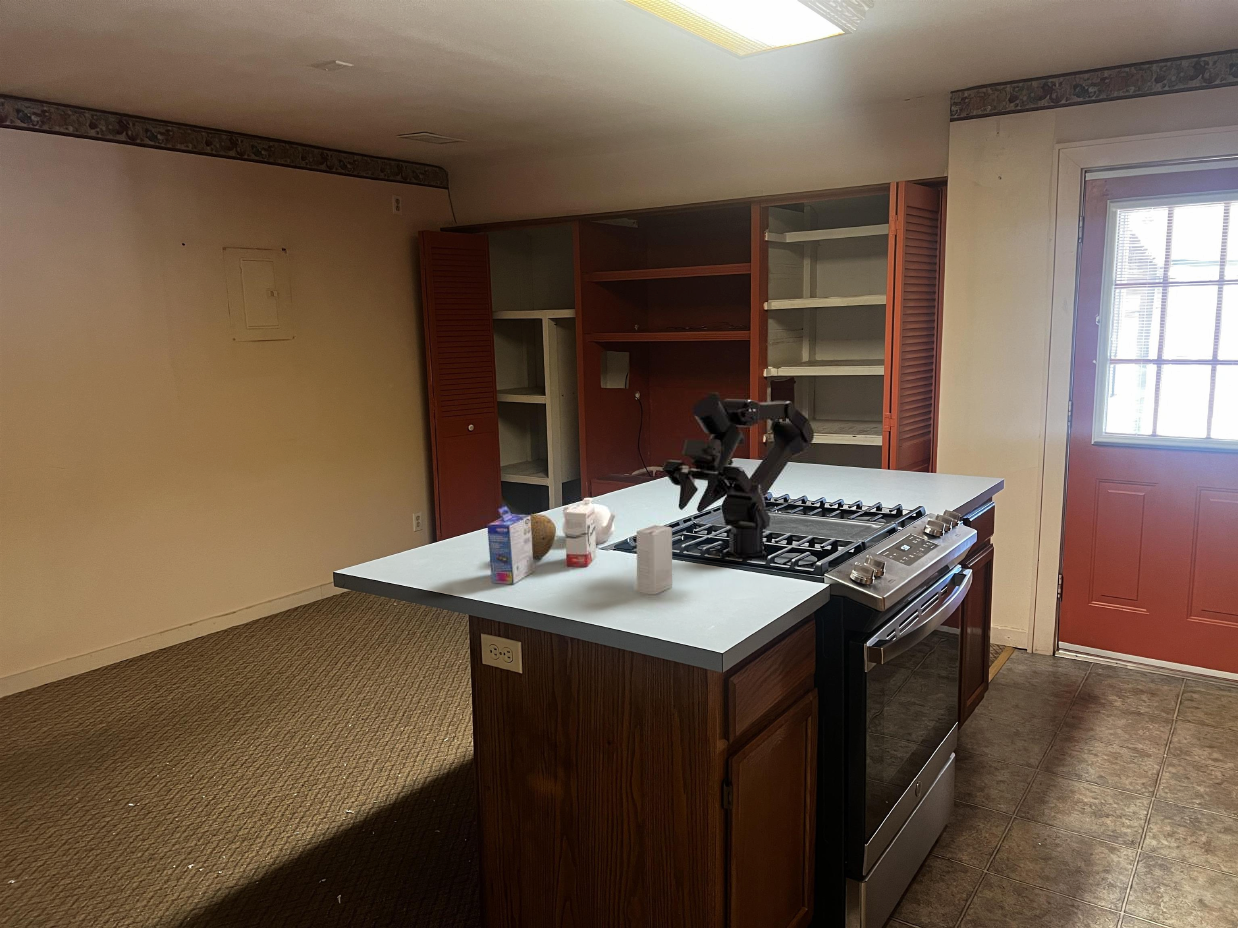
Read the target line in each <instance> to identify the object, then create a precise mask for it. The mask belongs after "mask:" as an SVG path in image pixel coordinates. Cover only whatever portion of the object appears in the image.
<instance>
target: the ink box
mask: <svg viewBox="0 0 1238 928" xmlns="http://www.w3.org/2000/svg"><path fill="white" fill-rule="evenodd" d="M569 507H570V508H569V509H568V510H566V511H565V512H566V513H565V519H564V520H565V533H566V536H565V553H566V554H565V560H566V561H565V564H566V565H565V566H566V567H589V565H590V564H591V563H592V562H593V561H594V560H595V558H597V546H596V545H597V544H596V537H595V506H586V505H582V504H573V505H571V506H569Z"/></svg>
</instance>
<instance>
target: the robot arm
mask: <svg viewBox="0 0 1238 928" xmlns="http://www.w3.org/2000/svg"><path fill="white" fill-rule="evenodd" d="M796 406H797V405H795V403H794V402H792V401H790V400H773V401H765V402H764V401H763V402H760V401H755V400H753V399H743V398H742V399H739V398H734V399H733V398H726V399H724V400H722V399H721V397H720V394H719V392H709V393H708V394H707V396H704V397H703V398H701V399H700V400H698V401H697V402H696V403H694V405H693V406H692V414H693V415H694V417H695V419H696V420H697V421H698V423H699V424H700V426H701V428H702V429H703V431H704V432H705V433H706V434H707V435H711V436H710V437H709V439H708V441H707V440H706V441H705V440H703V439H702V440H701V439H685V443H684V447H683V450H682V455H683V456H685V457H688V458H690V461H689V462H690V463H691V465H692V466H695V467H694V468H692V467H690V466H688V465H687V464H686V463H685V462H684V461H683V460H673V459H669V460H666V461H665V463H664V465H663V467H662V468H661V470H662V471H663V472H664V474H665V476H666V477H667V478H668V479H669V481H670V482H671V483H672V484H673V485H674V486H679V487H680V489H679V490H680V491H679V500H678V509H679V510H681V511H683V510H684V509H685V508H686V507H687V506H688V504H689V503H690V501H691V499H692V498H694V496H695V494H696V493H697V492H698V491H699V488H698V487H697V486H696V484H695V483H696V480H697V481H704V482H705V481H706V482H707V486H706V487H705V490H704V492H703V493H702V495H701V497H700V499H699V502H698V504H697V507H696V511H697V512H698V513H699V514H700V513H702V512H704V511H705V510H706V509H708V508H709V507H711V506H712V505H713V504H715V503H716V502H718V501H719V500H722V499H723V501H722V503H721V512H722V516H723V517H722V518H723V521H724V524H725V526H727V527H728V526H730V527H731V528H730V529H731V532H729V533H728V536H729V537H728V540H729V541H728V544H729V545H728V548H727V549H728V552H729V553H731V554H732V555H734V556H735V557H737V558H747V557H746V556H752V557H760V556H767V552H765V551H764V530H768V528H769V526H770V523H771V516H770V514H769V512H768V511H767V510H766V503H765V497H766V495H767V494H768V492H769V490H770V489H771V487H772V486H773V485H774V483H775V482H776V481H777V479H778V478H779V476H780V474H781V473H782V472H783V471H784V470H785V467H786V466H788V463H789V462H790V460H791V459H792V458H793V457H795V456H798V455H799V454H802V453H804V452H805V451H806V450H807V449H808V448H809V446H811V444H812V442H813V440H814V437H815V433H814V429H813V427H812V424H811V423H810V420H809V419H808V417H806V416H805V415H804V414H803V413H802V412H800V411H799V410H798V409H797V407H796ZM780 419H783V420H786V419H788V421H781V420H780ZM765 420H766V421H767V420H771V425H770V430H771V432H772V439H773V445H772V446H771V448H770V449H769V450H768V452H767V453H766V455H765V456H764V458H763V459H762V461H761V462H760V463H759V464H758V465H757V467H756V468H755V470H754V471H753V473H752V474H751V475H750V477H749V476H748V474H747V473H746V471H745V470H744V469H743V467H742V466H735V465H733V464H734V460H733V459H732V457H733V455H734V453H735V450H736V448H737V447H738V445H739V446H741V445H742V446H745V444H746V439H745V437H744V433H743V431H741V430H740V429H739V427H743V428H744V427H745V428H751V427H754V426H755V425H758V424H759V422H760V421H765ZM692 500H693V499H692Z"/></svg>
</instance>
